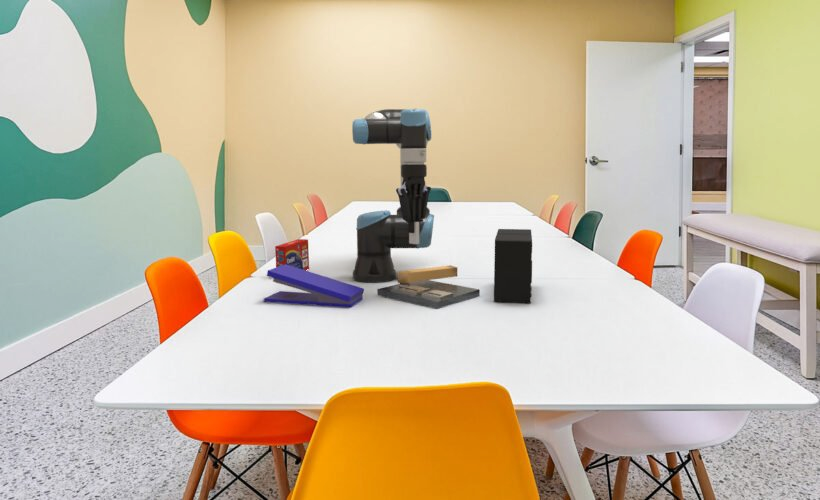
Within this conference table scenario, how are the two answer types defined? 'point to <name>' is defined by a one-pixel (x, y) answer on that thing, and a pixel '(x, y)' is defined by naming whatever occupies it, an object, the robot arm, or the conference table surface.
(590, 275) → the conference table surface
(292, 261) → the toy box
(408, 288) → the server board
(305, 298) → the stapler
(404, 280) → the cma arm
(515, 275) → the speaker
